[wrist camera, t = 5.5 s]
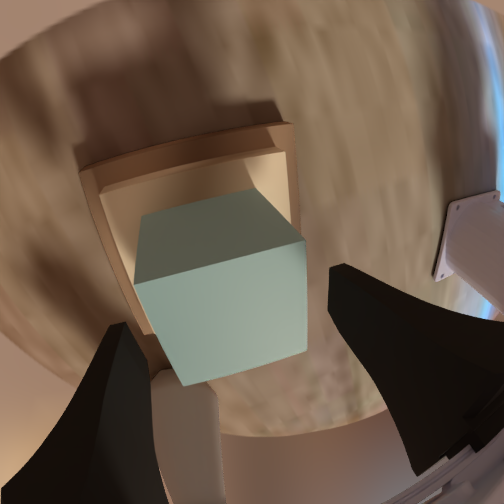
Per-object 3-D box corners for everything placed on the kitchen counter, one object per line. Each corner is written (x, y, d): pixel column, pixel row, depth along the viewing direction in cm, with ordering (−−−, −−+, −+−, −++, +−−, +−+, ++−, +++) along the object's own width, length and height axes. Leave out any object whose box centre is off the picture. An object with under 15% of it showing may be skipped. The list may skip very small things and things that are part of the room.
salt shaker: (131, 363, 19) (150, 543, 8) (209, 354, 20) (262, 528, 9) (149, 405, 22) (173, 547, 11) (214, 396, 23) (257, 535, 12)
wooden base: (283, 121, 14) (304, 126, 12) (295, 281, 19) (311, 303, 17) (84, 166, 12) (71, 179, 10) (143, 321, 17) (144, 349, 15)
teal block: (255, 187, 13) (305, 240, 8) (267, 280, 15) (307, 350, 11) (141, 215, 12) (133, 285, 8) (172, 305, 14) (183, 386, 10)
